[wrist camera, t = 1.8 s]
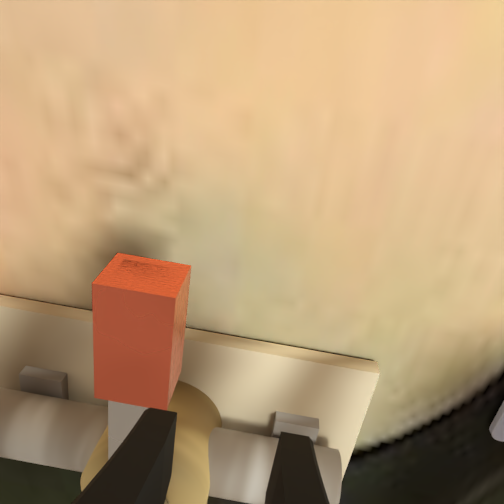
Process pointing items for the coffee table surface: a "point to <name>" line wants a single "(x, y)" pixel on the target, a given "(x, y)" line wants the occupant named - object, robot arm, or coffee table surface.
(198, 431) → the valve fixture
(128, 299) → the valve lever
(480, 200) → the coffee table surface
